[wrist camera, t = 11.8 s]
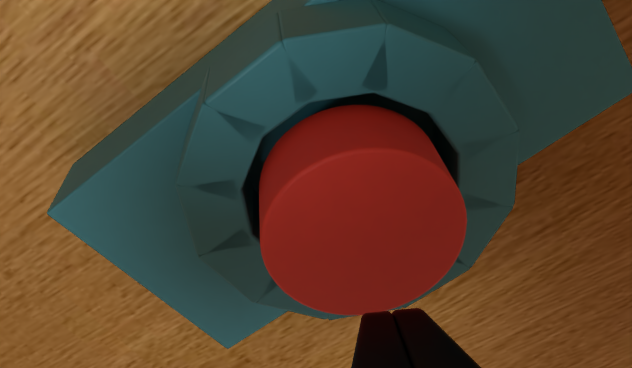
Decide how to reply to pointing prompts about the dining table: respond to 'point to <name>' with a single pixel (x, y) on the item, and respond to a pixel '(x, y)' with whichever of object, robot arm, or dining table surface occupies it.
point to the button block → (320, 94)
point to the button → (358, 211)
